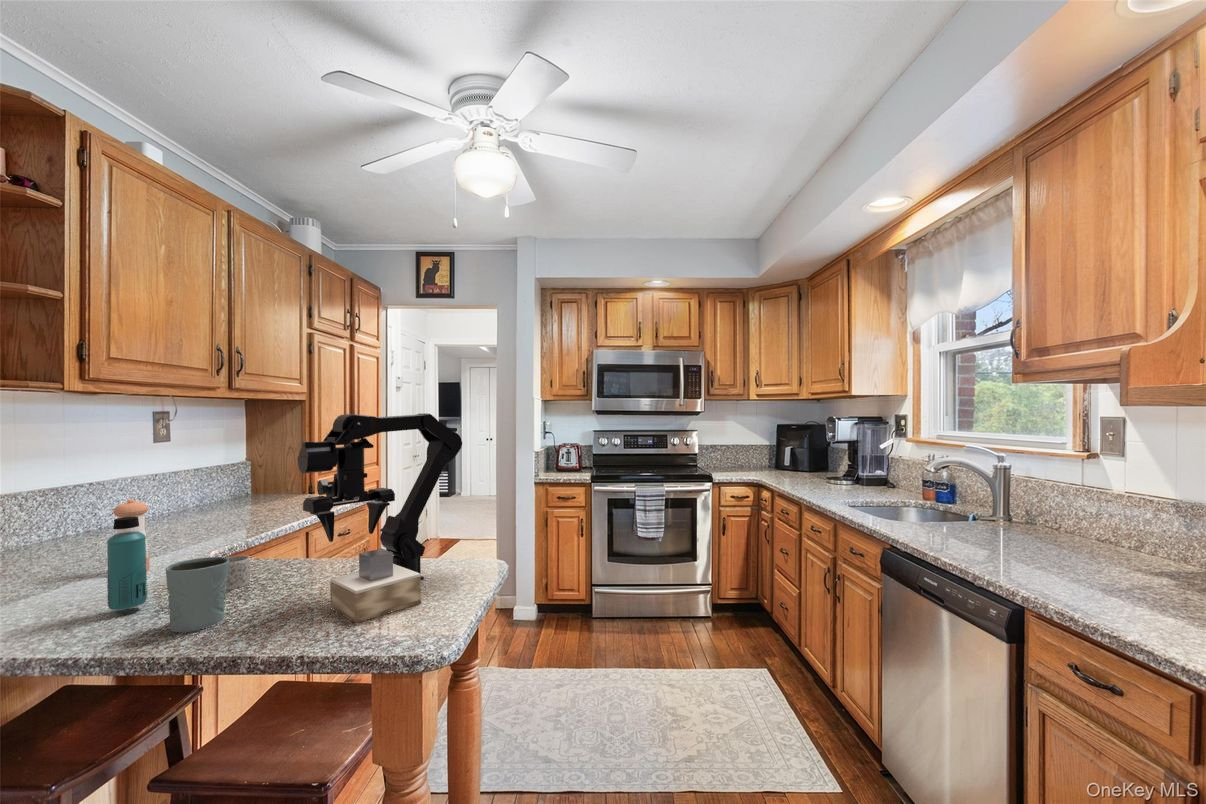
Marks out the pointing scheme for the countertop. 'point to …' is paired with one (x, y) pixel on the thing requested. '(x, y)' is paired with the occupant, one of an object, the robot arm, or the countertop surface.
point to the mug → (238, 572)
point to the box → (375, 599)
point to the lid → (363, 585)
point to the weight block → (375, 564)
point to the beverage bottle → (126, 566)
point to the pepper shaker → (133, 510)
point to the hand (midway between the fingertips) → (351, 537)
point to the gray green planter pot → (197, 593)
